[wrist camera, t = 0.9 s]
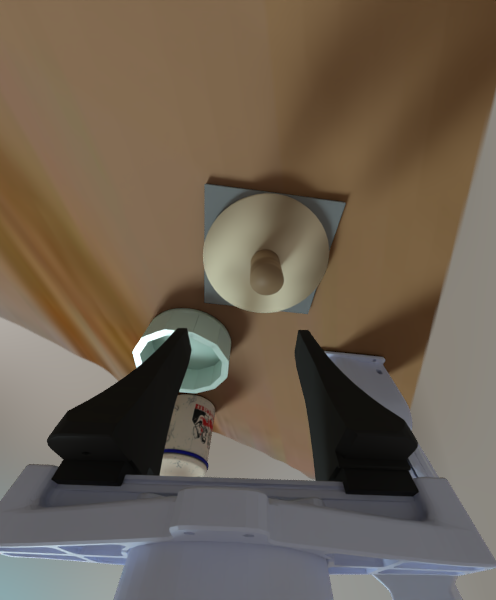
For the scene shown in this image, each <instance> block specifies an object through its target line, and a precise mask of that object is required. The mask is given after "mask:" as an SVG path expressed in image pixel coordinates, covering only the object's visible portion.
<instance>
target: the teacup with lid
mask: <svg viewBox="0 0 496 600" xmlns="http://www.w3.org/2000/svg"><path fill="white" fill-rule="evenodd" d="M214 416H215V408H214V406H213V404H212V403H211V402H210V401H208V400H207V399H205V398H203V397H201V396H197V395H192V394H181V395H178V396H177V399H176V402H175V406H174V410H173V414H172V418H171V422H170V426H169V431H168V435H167V440H166V445H165V449H164V454H163V459H162V465H161V470H160V476H184V477H203V476H204V475H205V473H206V472H207V470H208V463H207V461H208V455H209V449H210V442H211V436H212V429H213V423H214Z"/></svg>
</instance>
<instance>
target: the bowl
mask: <svg viewBox="0 0 496 600" xmlns="http://www.w3.org/2000/svg"><path fill="white" fill-rule="evenodd" d="M177 328H187V330H188V334H189V339H190V344H191V349H192V352H191V356H190V361H189V365H188V368H187V371H186V374H185V377H184V379H183V382H182V385H181V388H180V390H179V392H184V393H199V392H203V391H207V390H212V389H215V388H216V387H217V386H218V385H219V384H221V383H222V382H223V381H224V380H225V379H226V378H227V376H228V368H229V360H230V350H231V338H230V335H229V333H228V331H227V329H226V328H225V326H224V325H223V324H222V323H221V322H220V321H219V320H217V319H216V318H215V317H213V316H211V315H209V314H207V313H205V312H202V311H199V310H196V309H190V308H175V309H170V310H167V311H164V312H162V313H160V314H159V315H157V316H156V317H155V318H154V319H153V320H152V322H151V323H150V325H149V327H148V328H147V330H146V331H145V333H144V334H143V336H142V338H141V339H140V341H139V342H138V344H137V346H136V347H135V349H134V350H133V352H132V353H133V356H134V360H135V364H136V368H137V367H138V366H140V365H141V364H142V363H143V362H144V361H145V360H146V359H148V358H149V357H150V356H151V355H152V354H153V353H154V352H155V351H156V350H157V349H158V348H159V347H160V346H161V345H162V344H163V343H164V342H165V341H166V340H167V339H168V338H169V337H170V336H171V334H172V333H173V332H174V331H175V330H176V329H177Z"/></svg>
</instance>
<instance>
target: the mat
mask: <svg viewBox="0 0 496 600" xmlns="http://www.w3.org/2000/svg"><path fill="white" fill-rule="evenodd" d="M263 193H272V194H280V195H285V196H288V197H290V198H293V199H295V200H297V201H299V202H301V203H302V204H303V205H305V206H306V207H307V208H309V209H310V210H311V211H312V212H313V213H314V214H315V215H316V217H317V218H318V219H319V221H320V222H321V224H322V226H323V228H324V230H325V232H326V235H327V238H328V244H329V250H330V247H331V245H332V242H333V239H334V236H335V233H336V230H337V227H338V224H339V221H340V218H341V215H342V212H343V210H344V207H345V204H346V203H345V202H341V201H334V200H326V199H319V198H311V197H304V196H296V195H289V194H281V193H274V192H266V191H259V190H251V189H244V188H236V187H229V186H221V185H214V184H205V239H206V236H207V234H208V231H209V230H210V228H211V226H212V224H213V223H214V221H215V220H216V219H217V217H218V216H219V215H220V214H221V213H222V212H223V211H224V210H225V209H226V208H227V207H229V206H230V205H231V204H233V203H234V202H236V201H238V200H240V199H242V198H245V197H247V196H251V195H255V194H263ZM316 288H317V287H316ZM315 291H316V289H315V290H314V291H313V292H312V293H311V294H310V295H309V296H308V297H307V298H306V299H304V300H303V301H301V302H300V303H298V304H296V305H294V306H292V307H290V308H288V309H285V310H281V311H285V312H294V313H303V314H308V312H309V309H310V306H311V303H312V300H313V297H314V294H315ZM204 303H212V304H221V305H230V306H234V305H232V304H230V303H229V302H227V301H226V300H225V299H223V298H222V297H221V296H220V295H219V294H218V293H217V292H216V291H215V289H214V288H213V286H212V285H211V283H210V281H209V280H208V278H207V275H206V272H205V274H204Z"/></svg>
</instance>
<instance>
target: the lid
mask: <svg viewBox="0 0 496 600" xmlns="http://www.w3.org/2000/svg"><path fill="white" fill-rule="evenodd" d="M328 259H329V244H328V238H327V235H326V232H325V230H324V228H323V226H322V224H321V222H320V221H319V219H318V218H317V217H316V215H315V214H314V213H313V212H312V211H311V210H310V209H309V208H307V207H306V206H305V205H303V204H302V203H301V202H299V201H297V200H295V199H293V198H290V197H288V196H285V195H280V194H272V193H263V194H255V195H251V196H247V197H245V198H242V199H240V200H238V201H236V202H234V203H233V204H231V205H230V206H229V207H227V208H226V209H225V210H224V211H223V212H222V213H221V214H220V215H219V216H218V217H217V219H216V220H215V221H214V223H213V224H212V226H211V228H210V230H209V231H208V234H207V236H206V239H205V243H204V248H203V263H204V268H205V272H206V275H207V278H208V280H209V281H210V283H211V285H212V286H213V288H214V289H215V291H216V292H217V293H218V294H219V295H220V296H221V297H222V298H223V299H225V300H226V301H227V302H229V303H230V304H232V305H234V306H236V307H238V308H241V309H243V310H247V311H251V312H257V313H271V312H277V311H281V310H285V309H288V308H290V307H292V306H294V305H296V304H298V303H300V302H301V301H303V300H304V299H306V298H307V297H308V296H309V295H310V294H311V293H312V292H313V291H314V290H315V289H316V287H317V286H318V285H319V283H320V282H321V280H322V278H323V276H324V274H325V272H326V268H327V265H328Z"/></svg>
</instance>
